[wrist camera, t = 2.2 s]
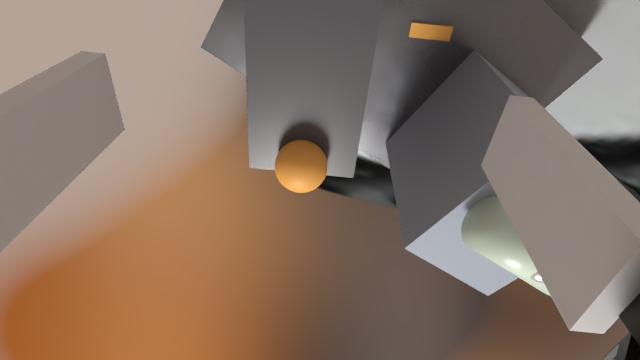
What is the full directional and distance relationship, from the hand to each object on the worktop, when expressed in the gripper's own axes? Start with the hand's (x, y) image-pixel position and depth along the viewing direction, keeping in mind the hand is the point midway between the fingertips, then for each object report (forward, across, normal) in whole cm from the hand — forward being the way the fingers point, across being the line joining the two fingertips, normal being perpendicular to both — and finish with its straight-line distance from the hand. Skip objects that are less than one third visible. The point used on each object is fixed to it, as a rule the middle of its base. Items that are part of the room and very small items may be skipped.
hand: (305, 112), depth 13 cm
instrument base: (+14, +5, -1) cm, 15 cm away
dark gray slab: (+11, 0, 0) cm, 11 cm away
